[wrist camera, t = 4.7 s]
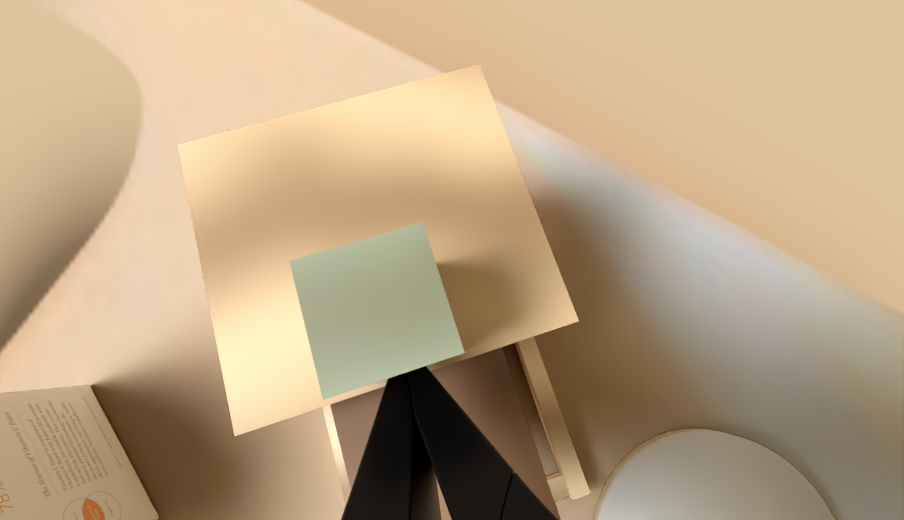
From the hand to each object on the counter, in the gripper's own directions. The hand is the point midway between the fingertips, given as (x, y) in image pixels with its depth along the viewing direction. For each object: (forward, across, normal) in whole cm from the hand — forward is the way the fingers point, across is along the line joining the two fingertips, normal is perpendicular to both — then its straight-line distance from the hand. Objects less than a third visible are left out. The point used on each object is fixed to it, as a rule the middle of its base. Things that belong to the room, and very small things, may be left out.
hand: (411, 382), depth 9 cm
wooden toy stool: (+12, 0, +7) cm, 14 cm away
